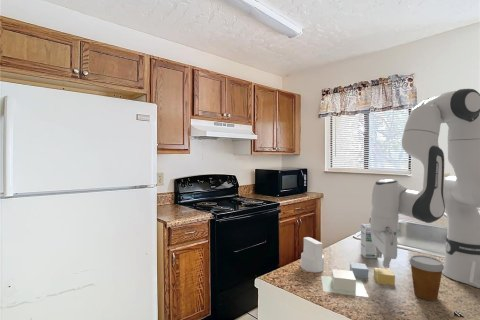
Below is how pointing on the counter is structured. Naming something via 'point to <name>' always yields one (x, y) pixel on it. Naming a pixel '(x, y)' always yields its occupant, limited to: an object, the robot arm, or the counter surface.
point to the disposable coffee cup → (426, 276)
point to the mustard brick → (384, 276)
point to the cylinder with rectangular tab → (312, 255)
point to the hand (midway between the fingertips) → (382, 261)
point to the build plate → (329, 288)
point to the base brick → (343, 280)
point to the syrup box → (367, 242)
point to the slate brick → (359, 270)
